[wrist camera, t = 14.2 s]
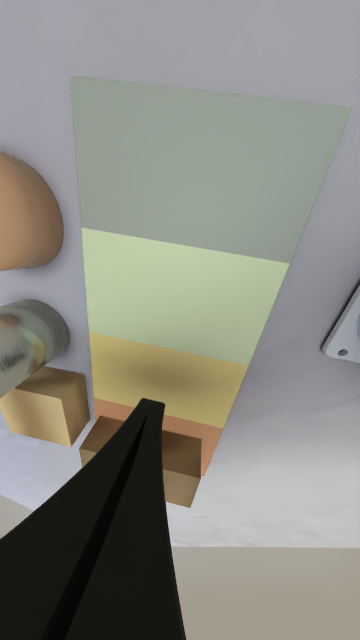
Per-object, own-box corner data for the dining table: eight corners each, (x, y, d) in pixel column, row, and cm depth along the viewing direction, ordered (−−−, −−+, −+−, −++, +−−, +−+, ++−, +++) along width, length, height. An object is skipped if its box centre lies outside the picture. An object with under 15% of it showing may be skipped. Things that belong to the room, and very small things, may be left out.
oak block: (86, 372, 16) (60, 398, 13) (91, 416, 18) (71, 446, 15) (26, 359, 16) (-11, 383, 13) (39, 404, 19) (10, 432, 16)
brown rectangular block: (201, 439, 16) (200, 478, 13) (192, 468, 18) (190, 507, 15) (99, 415, 17) (79, 448, 14) (102, 446, 19) (84, 480, 16)
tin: (66, 306, 13) (-10, 338, 8) (73, 359, 15) (14, 409, 10) (5, 293, 13) (-100, 318, 9) (20, 347, 15) (-59, 390, 11)
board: (344, 115, 7) (352, 107, 7) (204, 471, 19) (204, 476, 18) (76, 83, 8) (69, 75, 8) (99, 445, 19) (97, 448, 19)
